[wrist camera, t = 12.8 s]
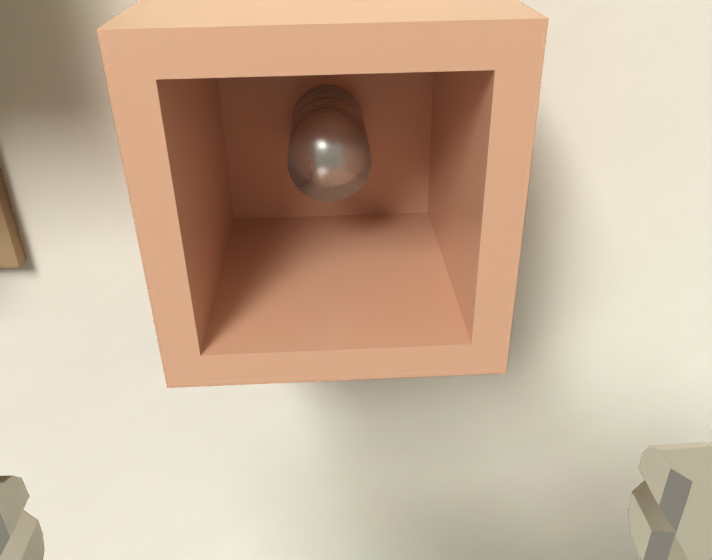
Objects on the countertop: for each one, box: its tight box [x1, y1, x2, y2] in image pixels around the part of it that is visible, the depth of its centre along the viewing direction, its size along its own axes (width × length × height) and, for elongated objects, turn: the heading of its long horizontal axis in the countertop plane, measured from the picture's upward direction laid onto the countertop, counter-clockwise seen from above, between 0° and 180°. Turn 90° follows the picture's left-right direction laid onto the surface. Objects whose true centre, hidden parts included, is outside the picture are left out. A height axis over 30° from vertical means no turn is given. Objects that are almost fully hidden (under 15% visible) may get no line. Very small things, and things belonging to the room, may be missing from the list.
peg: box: [287, 85, 372, 202], centre depth 21 cm, size 2×2×4 cm
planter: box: [96, 0, 548, 388], centre depth 20 cm, size 9×9×9 cm
